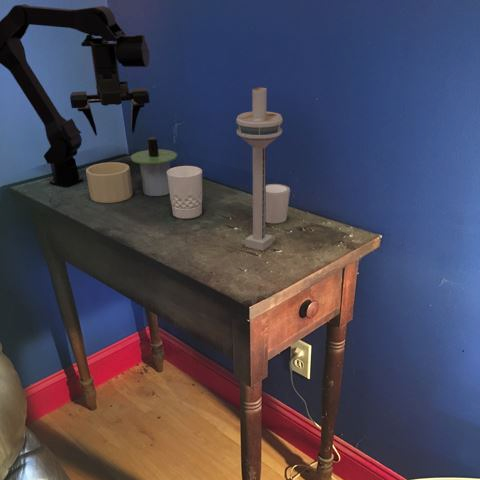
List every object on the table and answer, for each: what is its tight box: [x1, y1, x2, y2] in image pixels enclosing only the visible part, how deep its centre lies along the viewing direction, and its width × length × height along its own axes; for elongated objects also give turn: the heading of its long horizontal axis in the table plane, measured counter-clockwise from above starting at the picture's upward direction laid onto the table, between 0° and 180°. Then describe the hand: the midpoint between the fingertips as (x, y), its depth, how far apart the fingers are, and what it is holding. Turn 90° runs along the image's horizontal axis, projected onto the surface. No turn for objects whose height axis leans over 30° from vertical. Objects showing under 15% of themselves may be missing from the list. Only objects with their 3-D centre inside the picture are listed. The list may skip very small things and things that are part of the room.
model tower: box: [235, 87, 283, 252], centre depth 107 cm, size 8×8×30 cm
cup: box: [139, 162, 172, 197], centre depth 142 cm, size 7×7×8 cm
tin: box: [85, 161, 133, 204], centre depth 140 cm, size 10×10×7 cm
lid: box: [130, 136, 178, 165], centre depth 138 cm, size 11×11×5 cm
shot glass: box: [265, 183, 291, 224], centre depth 125 cm, size 7×7×7 cm
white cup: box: [167, 165, 203, 220], centre depth 128 cm, size 8×8×10 cm
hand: (114, 133), depth 142 cm, fingers open, 9 cm apart
